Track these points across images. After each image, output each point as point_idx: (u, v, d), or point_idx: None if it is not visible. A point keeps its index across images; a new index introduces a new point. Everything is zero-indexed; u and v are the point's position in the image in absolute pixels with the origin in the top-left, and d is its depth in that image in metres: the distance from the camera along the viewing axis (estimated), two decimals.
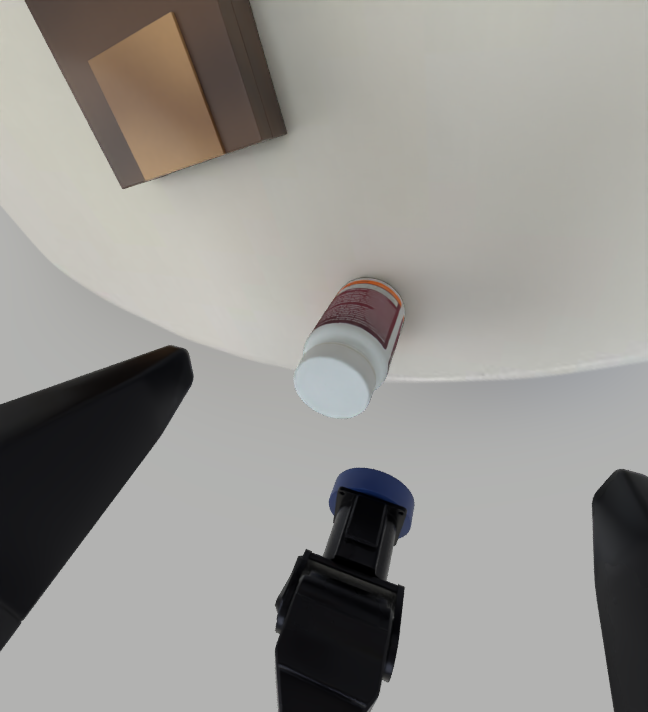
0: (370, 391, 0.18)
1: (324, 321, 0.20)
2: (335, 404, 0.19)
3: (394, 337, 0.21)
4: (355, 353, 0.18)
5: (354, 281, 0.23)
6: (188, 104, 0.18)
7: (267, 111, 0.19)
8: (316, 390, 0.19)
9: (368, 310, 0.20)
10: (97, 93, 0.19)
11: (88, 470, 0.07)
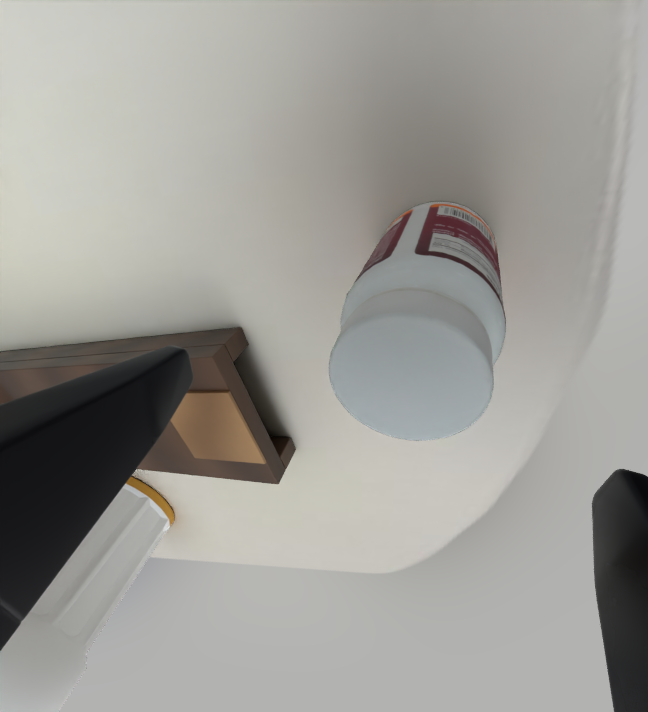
0: (401, 309, 0.08)
1: None
2: (445, 383, 0.09)
3: (413, 231, 0.12)
4: (346, 321, 0.10)
5: None
6: (200, 405, 0.21)
7: (210, 342, 0.21)
8: (411, 408, 0.10)
9: None
10: (213, 462, 0.25)
11: (88, 470, 0.07)
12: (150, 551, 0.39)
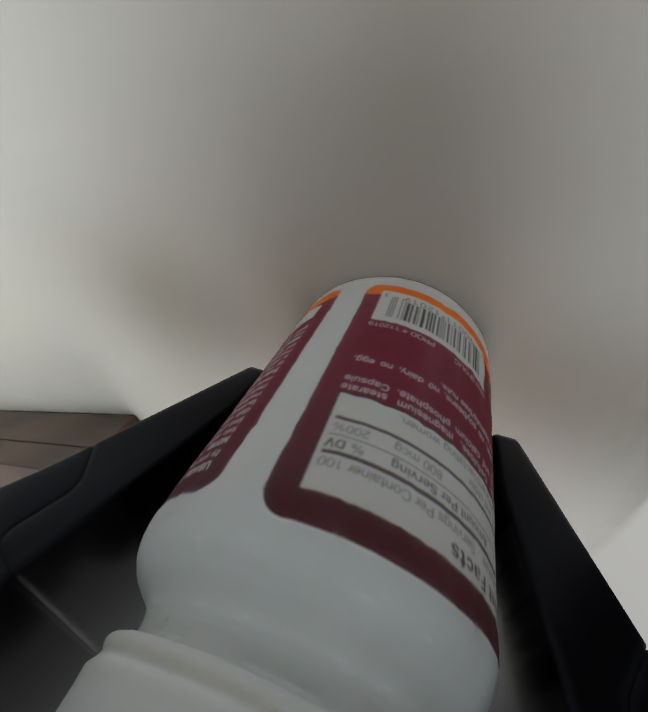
0: None
1: None
2: None
3: (306, 376, 0.05)
4: None
5: None
6: None
7: (86, 441, 0.15)
8: None
9: None
10: None
11: None
12: None
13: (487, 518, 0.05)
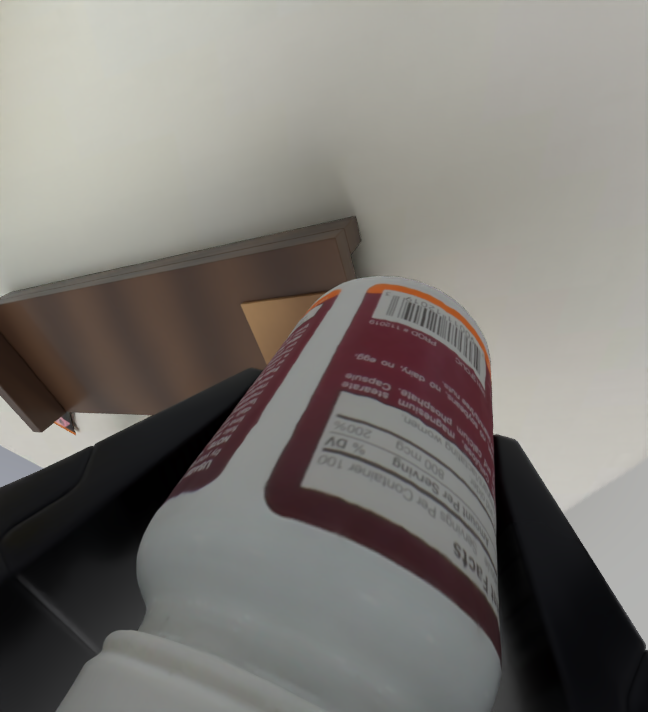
0: None
1: None
2: None
3: (307, 375, 0.05)
4: None
5: None
6: (303, 314, 0.17)
7: (321, 231, 0.16)
8: None
9: None
10: None
11: None
12: None
13: (489, 518, 0.05)
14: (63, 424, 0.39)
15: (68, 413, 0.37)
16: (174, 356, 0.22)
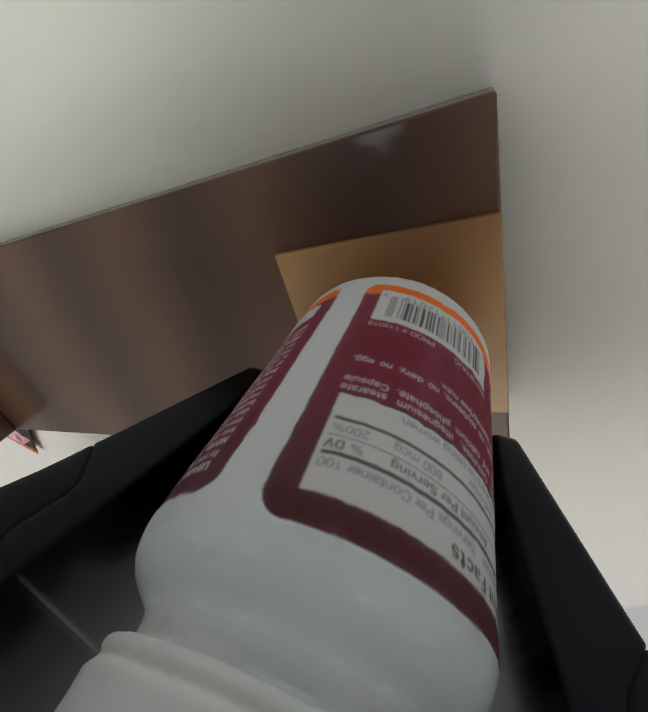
0: None
1: None
2: None
3: (305, 376, 0.05)
4: (73, 681, 0.04)
5: None
6: (395, 270, 0.09)
7: (439, 105, 0.09)
8: None
9: None
10: None
11: None
12: None
13: (487, 519, 0.05)
14: (21, 441, 0.30)
15: None
16: (159, 350, 0.14)
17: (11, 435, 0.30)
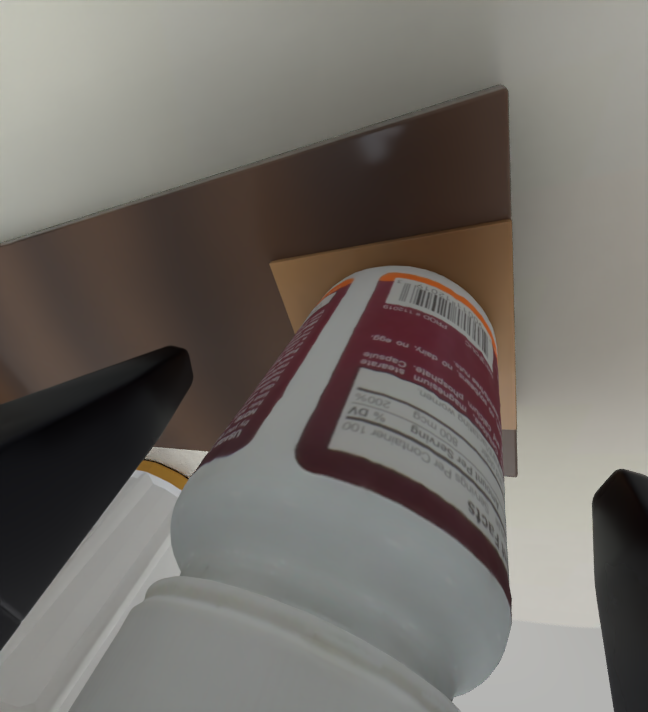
0: None
1: None
2: None
3: (327, 354, 0.06)
4: None
5: None
6: None
7: (444, 103, 0.08)
8: None
9: None
10: None
11: (88, 470, 0.07)
12: None
13: (498, 485, 0.05)
14: None
15: None
16: None
17: None
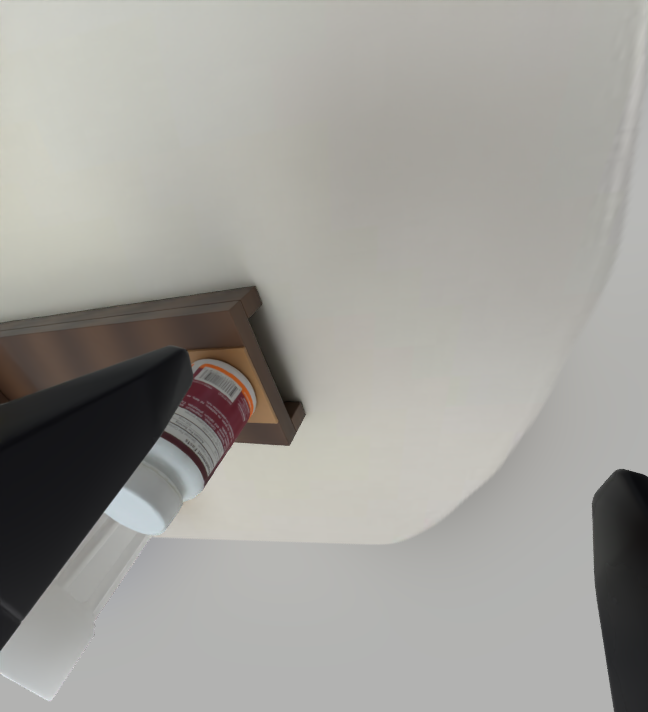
0: None
1: None
2: (140, 511, 0.16)
3: None
4: None
5: None
6: None
7: (225, 299, 0.21)
8: (134, 519, 0.17)
9: None
10: None
11: (88, 470, 0.07)
12: None
13: (208, 437, 0.18)
14: None
15: None
16: None
17: None
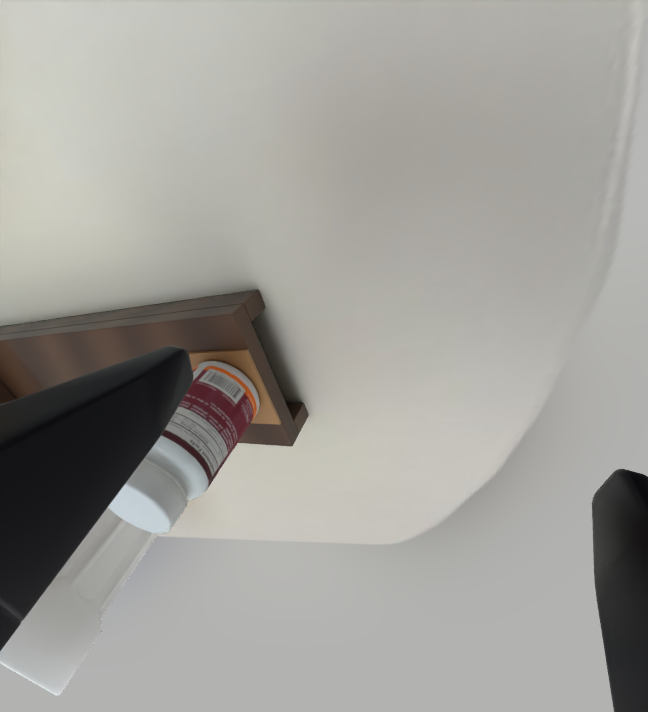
0: None
1: None
2: (146, 509, 0.17)
3: None
4: None
5: None
6: None
7: (229, 303, 0.21)
8: (141, 517, 0.17)
9: None
10: None
11: (88, 470, 0.07)
12: None
13: (212, 438, 0.19)
14: None
15: None
16: None
17: None
